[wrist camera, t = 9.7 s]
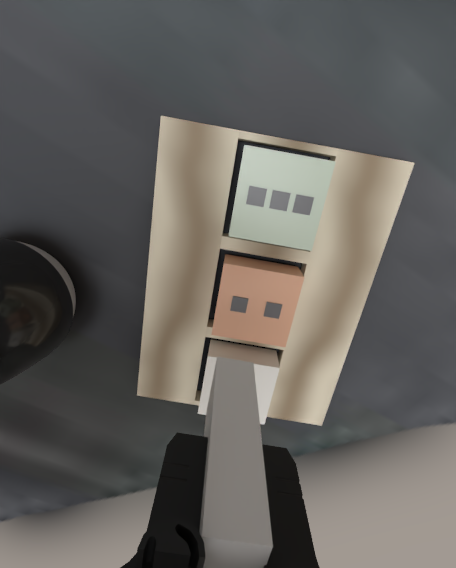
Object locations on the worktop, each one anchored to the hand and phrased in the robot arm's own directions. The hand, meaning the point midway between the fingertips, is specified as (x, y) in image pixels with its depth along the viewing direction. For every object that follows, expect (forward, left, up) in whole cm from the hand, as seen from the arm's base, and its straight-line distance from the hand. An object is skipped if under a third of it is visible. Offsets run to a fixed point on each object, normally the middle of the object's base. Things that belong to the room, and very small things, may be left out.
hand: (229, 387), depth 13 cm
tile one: (+2, -9, -14) cm, 16 cm away
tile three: (+2, +7, -14) cm, 16 cm away
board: (+2, -1, -15) cm, 15 cm away
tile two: (+2, -1, -14) cm, 14 cm away
